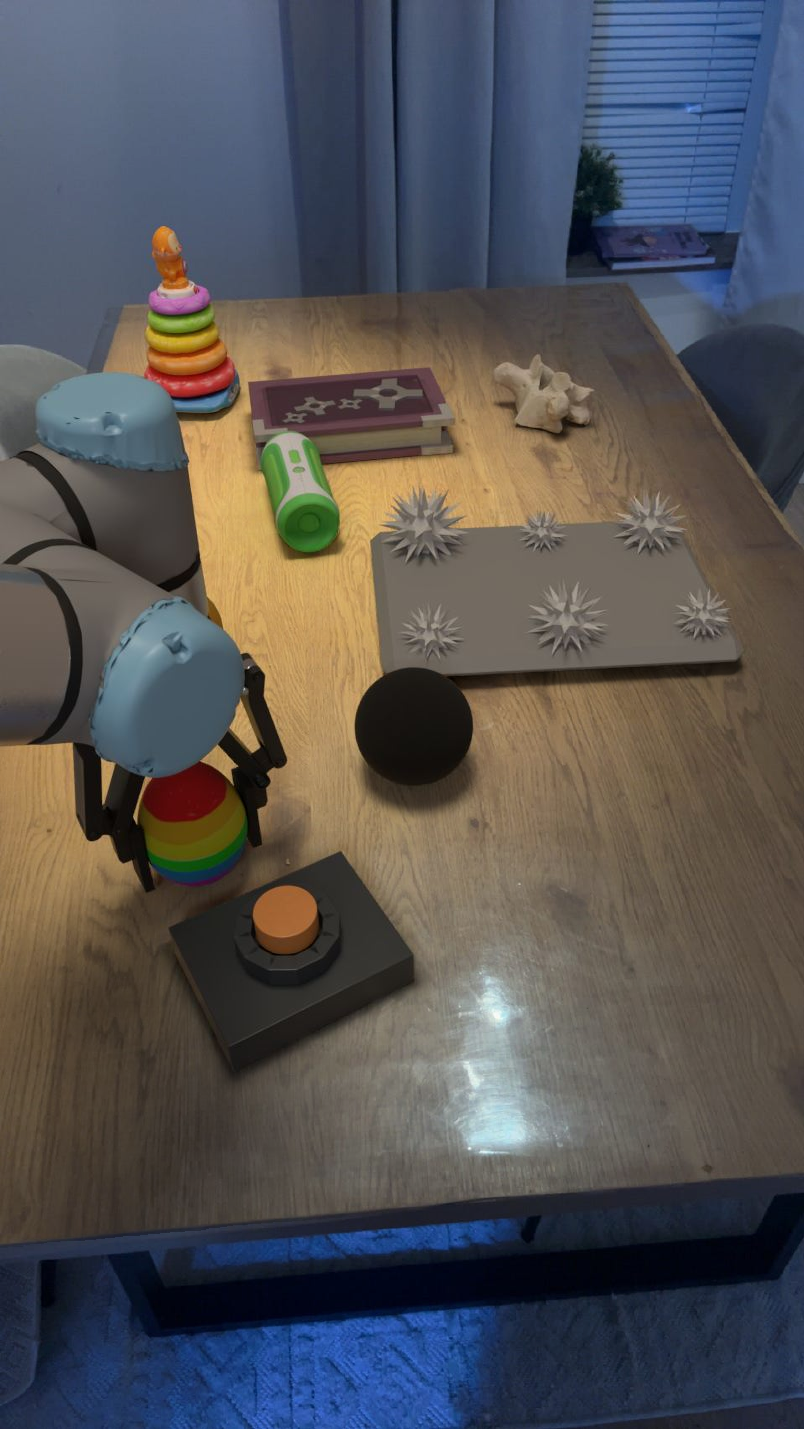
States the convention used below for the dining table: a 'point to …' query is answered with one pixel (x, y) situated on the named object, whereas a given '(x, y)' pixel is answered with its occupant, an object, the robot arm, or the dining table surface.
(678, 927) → the dining table surface
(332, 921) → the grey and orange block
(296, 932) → the orange button
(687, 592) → the decorative tray
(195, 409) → the stacking toy
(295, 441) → the speaker
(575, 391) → the decorative object
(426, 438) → the book
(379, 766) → the decorative ball
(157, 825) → the decorative egg
